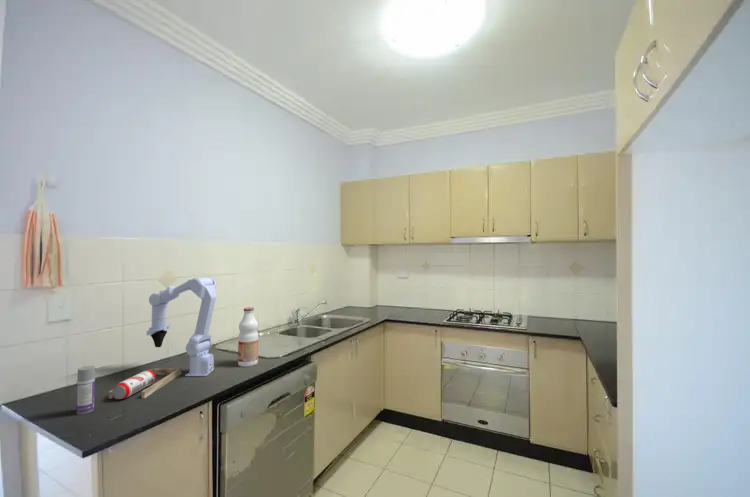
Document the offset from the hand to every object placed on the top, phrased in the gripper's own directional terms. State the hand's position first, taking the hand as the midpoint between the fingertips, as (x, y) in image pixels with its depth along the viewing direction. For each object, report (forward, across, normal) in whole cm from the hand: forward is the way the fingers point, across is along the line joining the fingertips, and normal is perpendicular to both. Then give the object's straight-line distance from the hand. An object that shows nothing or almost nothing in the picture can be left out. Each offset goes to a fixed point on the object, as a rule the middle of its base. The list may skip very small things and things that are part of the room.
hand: (158, 346), depth 157 cm
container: (+11, +42, +1) cm, 43 cm away
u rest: (+10, +20, +8) cm, 24 cm away
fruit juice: (+11, -7, +40) cm, 42 cm away
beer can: (+7, +18, +8) cm, 21 cm away
